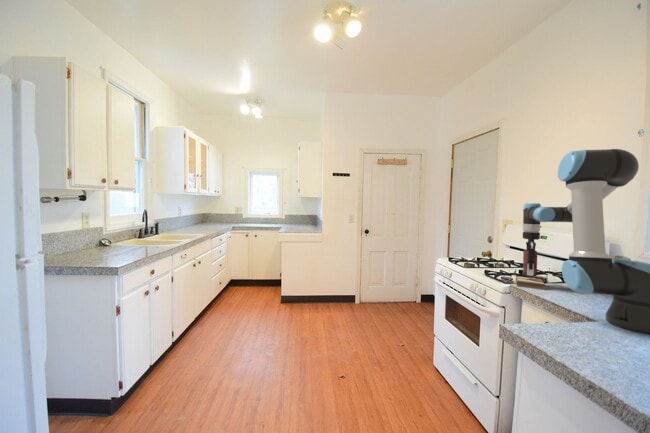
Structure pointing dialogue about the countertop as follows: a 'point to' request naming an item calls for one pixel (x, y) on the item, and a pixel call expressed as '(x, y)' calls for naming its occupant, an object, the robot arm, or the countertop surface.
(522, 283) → the stand
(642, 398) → the countertop surface
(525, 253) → the can
